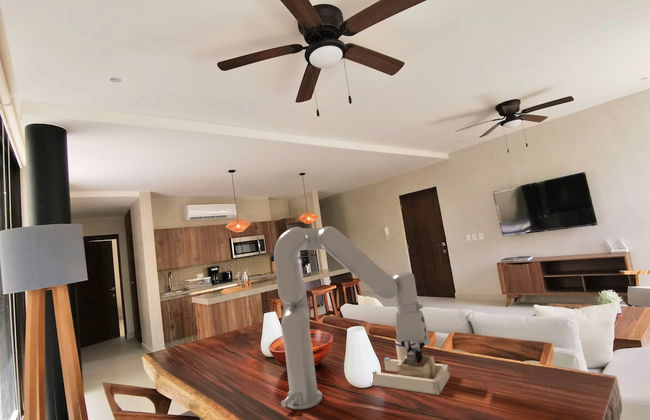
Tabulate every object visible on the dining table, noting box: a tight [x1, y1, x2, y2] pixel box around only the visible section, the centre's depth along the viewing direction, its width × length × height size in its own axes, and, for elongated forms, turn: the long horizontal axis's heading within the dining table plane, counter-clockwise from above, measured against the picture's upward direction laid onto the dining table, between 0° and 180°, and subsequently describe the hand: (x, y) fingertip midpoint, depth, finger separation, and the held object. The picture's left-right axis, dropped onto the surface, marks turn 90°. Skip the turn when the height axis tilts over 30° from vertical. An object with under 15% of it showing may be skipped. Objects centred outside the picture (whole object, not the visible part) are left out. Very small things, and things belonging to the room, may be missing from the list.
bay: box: [370, 357, 451, 396], centre depth 117 cm, size 16×24×5 cm, turn 56°
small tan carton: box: [397, 345, 437, 379], centre depth 116 cm, size 10×10×11 cm
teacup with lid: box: [394, 340, 416, 360], centre depth 137 cm, size 12×9×12 cm
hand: (415, 360), depth 116 cm, fingers closed on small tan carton, 2 cm apart
